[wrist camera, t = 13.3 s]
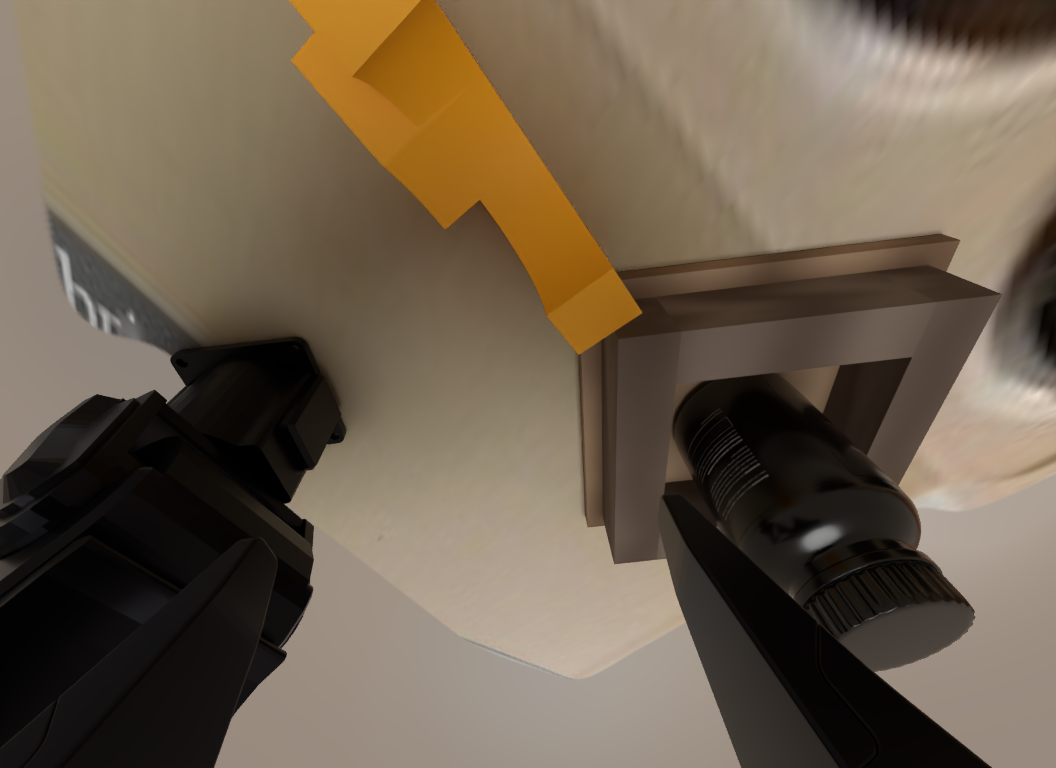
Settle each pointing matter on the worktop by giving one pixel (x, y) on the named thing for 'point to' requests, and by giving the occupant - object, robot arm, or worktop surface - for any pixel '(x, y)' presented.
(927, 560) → the supplement bottle
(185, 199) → the worktop surface
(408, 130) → the orange notched part
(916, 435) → the grey-brown square frame
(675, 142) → the worktop surface
